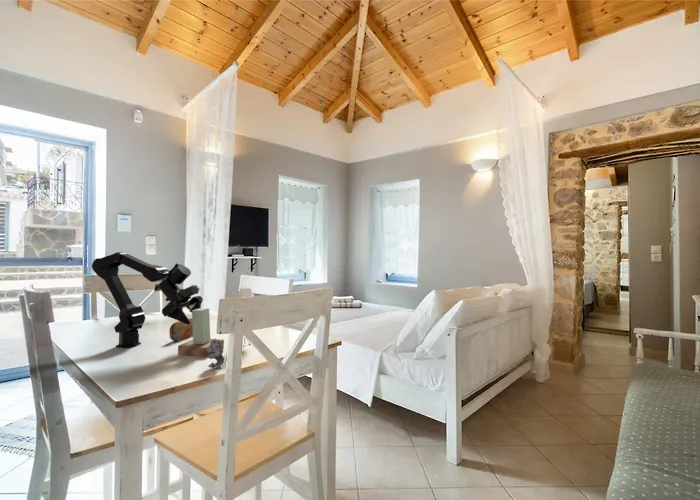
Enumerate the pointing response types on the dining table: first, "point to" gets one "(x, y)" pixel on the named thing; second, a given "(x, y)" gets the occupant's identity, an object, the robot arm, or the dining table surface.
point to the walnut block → (196, 348)
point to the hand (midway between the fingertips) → (196, 321)
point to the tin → (181, 330)
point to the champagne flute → (245, 293)
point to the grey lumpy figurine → (215, 353)
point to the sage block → (201, 326)
